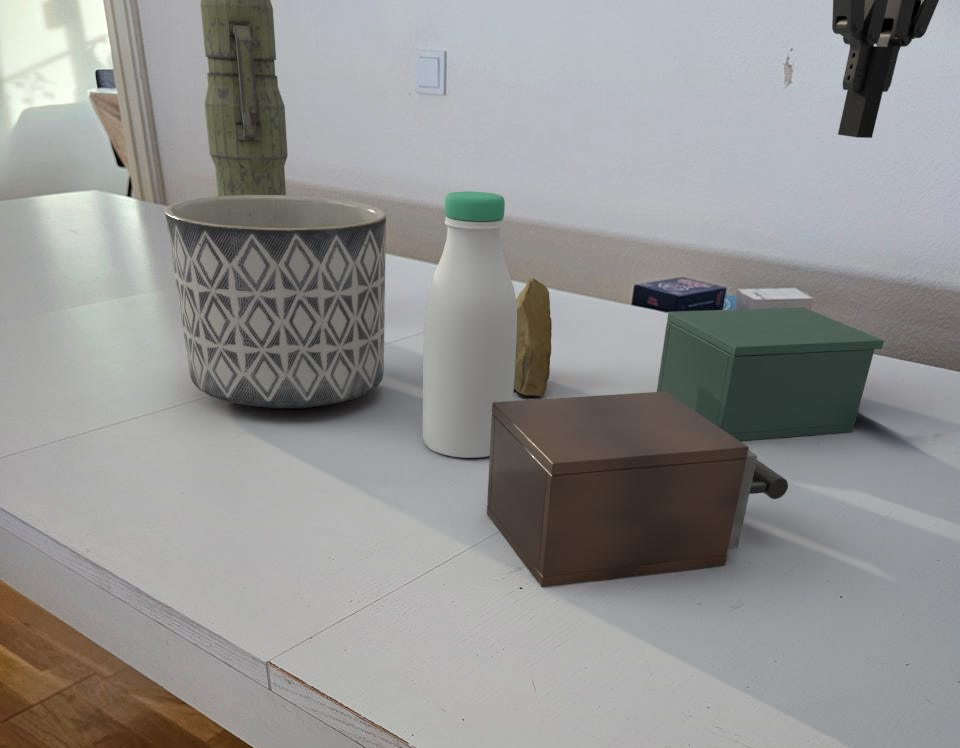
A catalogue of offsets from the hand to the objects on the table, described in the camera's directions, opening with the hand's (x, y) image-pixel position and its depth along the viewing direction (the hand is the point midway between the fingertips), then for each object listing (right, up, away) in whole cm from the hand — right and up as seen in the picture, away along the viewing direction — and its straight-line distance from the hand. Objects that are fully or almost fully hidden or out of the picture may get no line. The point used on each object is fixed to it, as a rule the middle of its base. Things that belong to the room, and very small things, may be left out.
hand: (854, 135), depth 80 cm
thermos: (-60, -2, +38) cm, 71 cm away
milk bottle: (-33, -26, +2) cm, 43 cm away
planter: (-51, -19, +12) cm, 56 cm away
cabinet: (-24, -36, -13) cm, 45 cm away
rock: (-29, -17, +17) cm, 38 cm away
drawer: (-20, -35, -12) cm, 42 cm away
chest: (-5, -21, +12) cm, 25 cm away
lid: (-5, -15, +8) cm, 17 cm away
